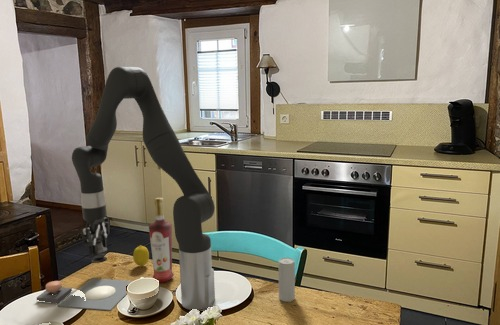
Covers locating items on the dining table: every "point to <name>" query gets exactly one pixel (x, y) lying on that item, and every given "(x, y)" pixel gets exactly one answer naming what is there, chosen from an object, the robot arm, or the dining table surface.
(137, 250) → the lemon
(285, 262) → the beverage can
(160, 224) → the liquor
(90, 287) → the slate board
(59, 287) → the button
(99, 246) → the chess piece
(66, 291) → the button housing
